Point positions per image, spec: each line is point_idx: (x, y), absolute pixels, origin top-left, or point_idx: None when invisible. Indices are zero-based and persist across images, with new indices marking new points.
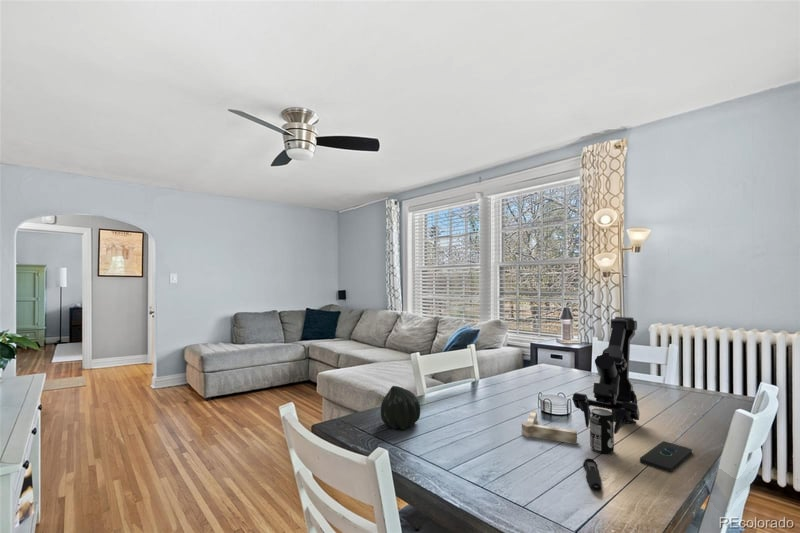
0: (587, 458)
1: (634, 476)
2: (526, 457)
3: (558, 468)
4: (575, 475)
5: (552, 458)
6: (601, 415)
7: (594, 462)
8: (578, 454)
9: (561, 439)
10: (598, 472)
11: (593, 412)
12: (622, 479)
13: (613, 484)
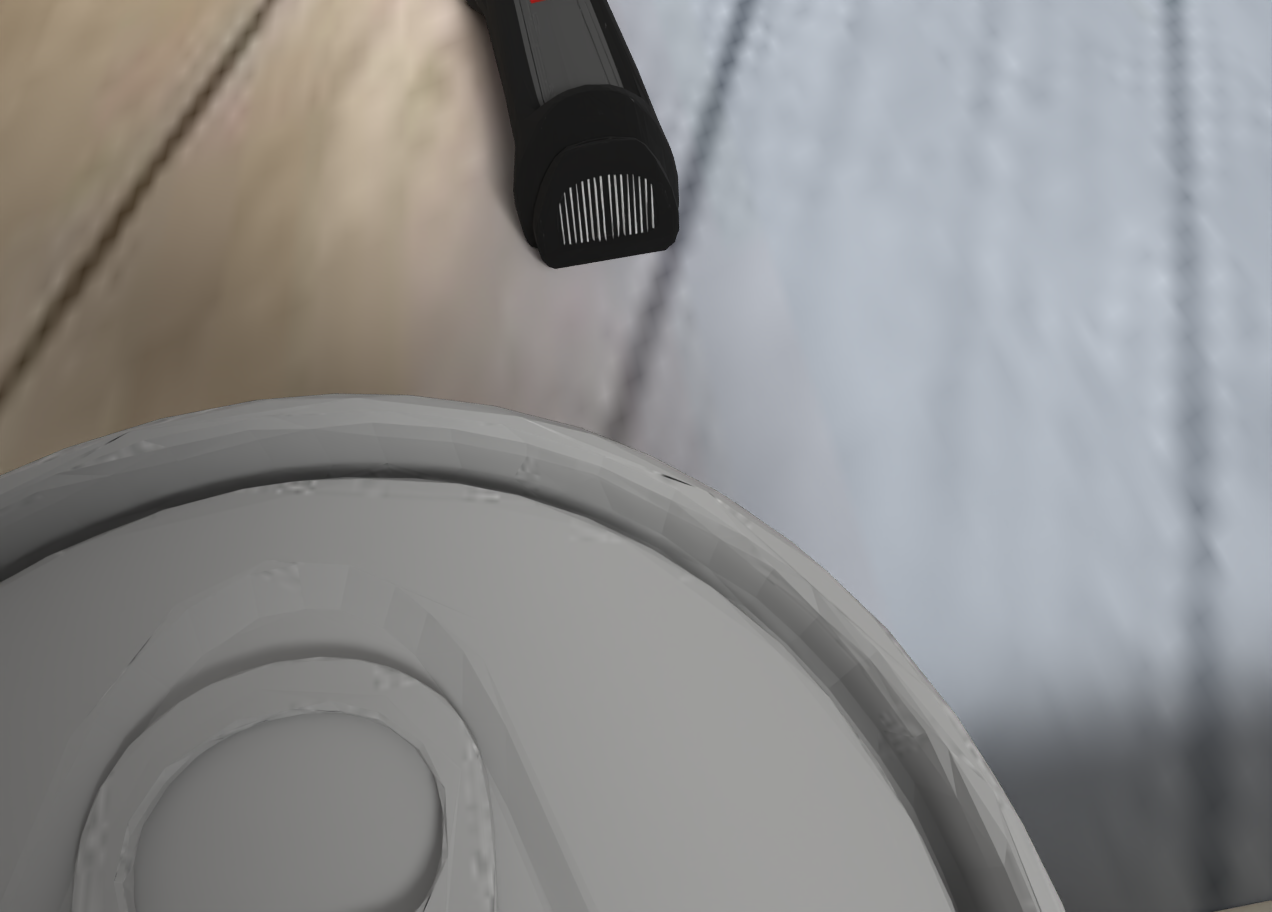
0: (634, 140)
1: (107, 250)
2: (1237, 124)
3: (875, 63)
4: (697, 16)
5: (1025, 227)
6: (314, 442)
7: (542, 107)
8: (814, 505)
9: (1267, 906)
10: (486, 5)
11: (810, 565)
12: (257, 132)
13: (354, 15)
